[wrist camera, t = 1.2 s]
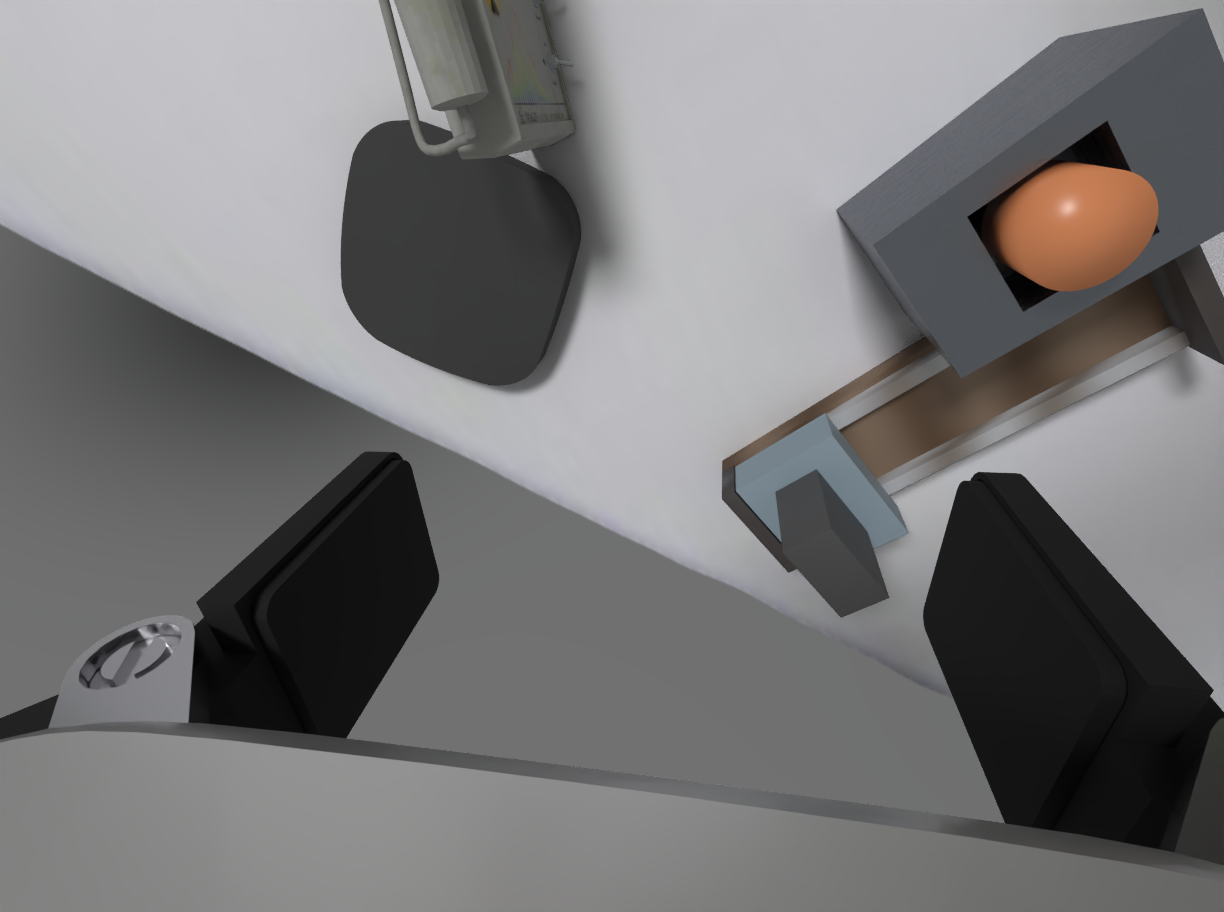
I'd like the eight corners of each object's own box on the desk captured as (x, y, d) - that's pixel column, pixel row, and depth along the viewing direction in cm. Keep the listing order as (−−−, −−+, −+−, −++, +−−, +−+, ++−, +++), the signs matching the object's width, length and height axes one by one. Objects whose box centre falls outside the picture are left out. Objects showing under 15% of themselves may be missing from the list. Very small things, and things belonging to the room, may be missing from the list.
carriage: (825, 412, 37) (850, 492, 29) (897, 505, 40) (937, 600, 32) (735, 466, 40) (737, 550, 33) (807, 549, 43) (824, 644, 35)
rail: (1129, 211, 31) (1192, 227, 27) (1184, 323, 33) (1249, 354, 29) (722, 461, 43) (722, 498, 39) (782, 529, 46) (788, 572, 42)
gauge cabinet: (1059, 37, 28) (1202, 8, 20) (1129, 181, 30) (1282, 211, 22) (836, 209, 33) (872, 244, 25) (910, 320, 36) (966, 386, 28)
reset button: (1070, 134, 24) (1130, 140, 20) (1113, 221, 25) (1177, 240, 21) (963, 209, 26) (1000, 226, 22) (1008, 286, 27) (1050, 313, 23)
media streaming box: (599, 191, 36) (589, 198, 33) (537, 388, 43) (525, 406, 41) (376, 98, 35) (349, 97, 32) (354, 315, 43) (331, 328, 40)
